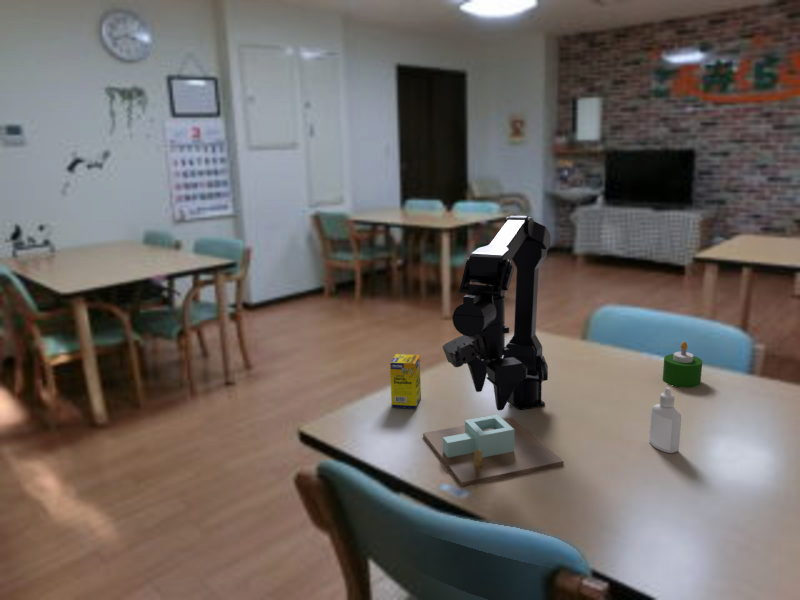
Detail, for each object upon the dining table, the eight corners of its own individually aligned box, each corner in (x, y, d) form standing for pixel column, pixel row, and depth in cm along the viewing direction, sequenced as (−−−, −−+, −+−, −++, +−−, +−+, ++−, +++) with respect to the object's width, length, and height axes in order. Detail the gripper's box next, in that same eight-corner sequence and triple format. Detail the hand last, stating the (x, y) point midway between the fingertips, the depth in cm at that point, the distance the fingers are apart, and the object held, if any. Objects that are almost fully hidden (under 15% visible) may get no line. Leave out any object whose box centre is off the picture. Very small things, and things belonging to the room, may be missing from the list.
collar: (497, 435, 122) (497, 414, 121) (514, 451, 116) (514, 429, 115) (438, 446, 119) (438, 425, 118) (452, 463, 112) (452, 441, 111)
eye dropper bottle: (656, 454, 114) (660, 394, 111) (647, 440, 120) (651, 382, 117) (680, 454, 114) (685, 394, 111) (670, 440, 119) (675, 382, 116)
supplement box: (417, 409, 138) (415, 363, 135) (391, 408, 139) (389, 362, 136) (421, 398, 143) (420, 354, 141) (396, 397, 145) (394, 353, 142)
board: (512, 420, 130) (512, 402, 129) (563, 465, 112) (564, 445, 111) (423, 436, 125) (422, 418, 124) (461, 486, 106) (461, 465, 105)
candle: (702, 378, 149) (706, 339, 146) (697, 390, 142) (701, 349, 139) (665, 372, 153) (668, 334, 150) (659, 384, 146) (662, 344, 144)
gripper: (429, 313, 118) (431, 389, 122) (468, 340, 101) (469, 428, 105) (482, 306, 121) (482, 380, 125) (529, 332, 104) (528, 417, 108)
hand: (489, 400), depth 116 cm, fingers open, 9 cm apart
